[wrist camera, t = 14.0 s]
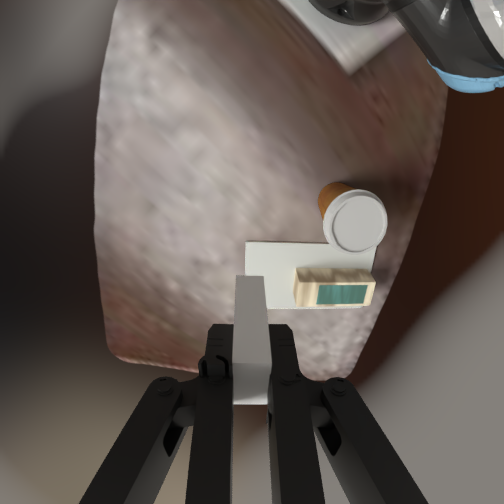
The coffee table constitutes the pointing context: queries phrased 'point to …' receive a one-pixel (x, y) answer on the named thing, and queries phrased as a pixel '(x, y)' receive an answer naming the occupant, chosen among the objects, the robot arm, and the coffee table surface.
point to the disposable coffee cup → (352, 218)
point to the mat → (296, 256)
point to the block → (332, 287)
